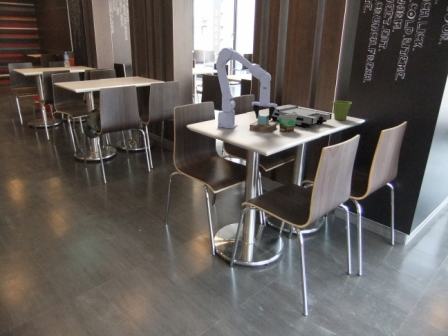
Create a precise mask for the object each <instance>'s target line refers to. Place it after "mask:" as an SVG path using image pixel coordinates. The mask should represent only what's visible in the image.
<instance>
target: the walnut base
mask: <svg viewBox="0 0 448 336" xmlns="http://www.w3.org/2000/svg"><path fill="white" fill-rule="evenodd" d="M277 125H278V122H275V121H269V124H267V125H260V124H258V120H256V121H253V122H252V123H250V124H249V130H250V131H255V132H256V131H257V132H263V133H271V132H272V131H274V130H275V129H277Z"/></svg>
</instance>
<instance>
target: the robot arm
mask: <svg viewBox="0 0 448 336" xmlns="http://www.w3.org/2000/svg"><path fill="white" fill-rule="evenodd" d="M216 59H217V60H216V62H215V67H216V72H217V78H218V81H219V82H218V83H219V86H220V91H221V96H222V97H221V103H222V104H221V110H219V112H218V113H217V114H218V115H217V128H225V129H226V128H227V129H234V128H235V127H237V126H238V125H237V124H235V123H236V121H235V120H236V118H235V117H236V115H235V114H236V110H235V107H236V101H235V100H234V97H233V96H232V92H231V88H230V87H231V86H230V83H229V79H228V78H229V77H228V74H227V69H226V66H227V65H228V63H229V61H231V60H232V61H236V62H238V63H240V64H241V65H242V66H244V67H245V68H247V69H248V73H250V74H251V75H252V76H253V77H254V78H256V79H257V80H259V83H260V86H259V101H251V106H252V110H253V111H254V113H255V119H257V120H258V115H260V108H261V107H265V108H266V107H267V108H268V115H269V121H271V120H272V119H271V118H272V115H273V112H274V110H275V109H276V108H277V107H278V104H277V103H273V102H271V81H272V76H271V74H270V73H269V72H267V70H266V69H265V70H264V69H263V68H262V67H261V66H260V64H257V63H251V62H250V61H249V60H248V59H247V58H246V57H244V56H243V54H241V53H240V52H239V51H237V50H235V49H233V48H232V47H223V48H221V50H220V51H219V52H218V55H217V58H216Z"/></svg>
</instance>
